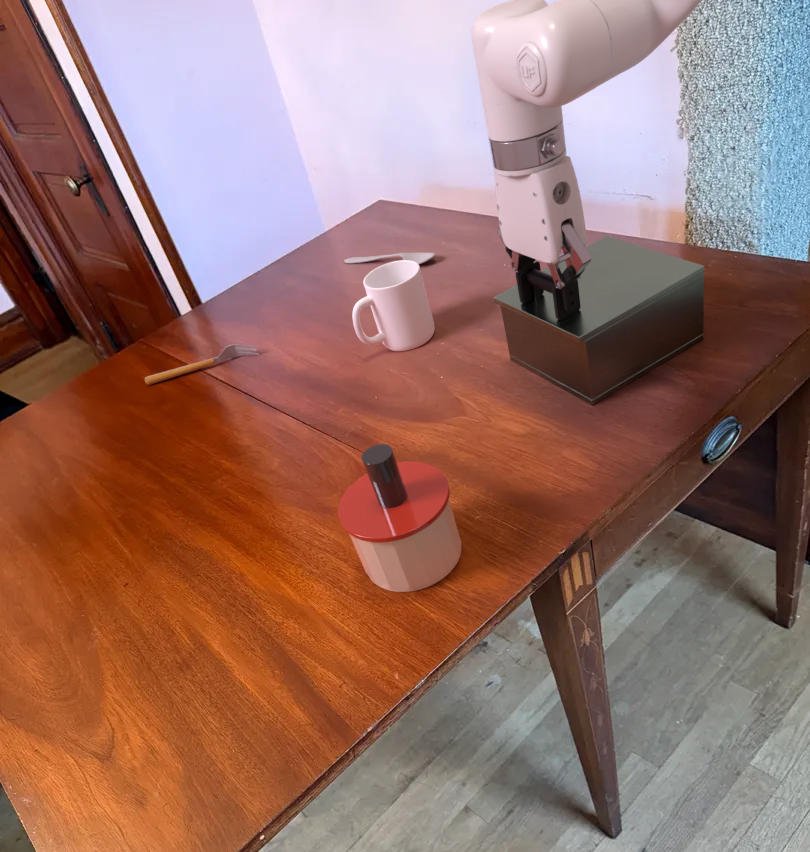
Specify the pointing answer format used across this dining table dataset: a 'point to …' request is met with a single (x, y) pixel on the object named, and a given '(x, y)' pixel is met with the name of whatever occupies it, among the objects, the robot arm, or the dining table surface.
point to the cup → (396, 306)
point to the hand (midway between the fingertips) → (549, 305)
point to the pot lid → (392, 497)
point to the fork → (202, 363)
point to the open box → (610, 344)
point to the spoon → (405, 256)
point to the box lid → (603, 287)
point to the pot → (413, 556)
